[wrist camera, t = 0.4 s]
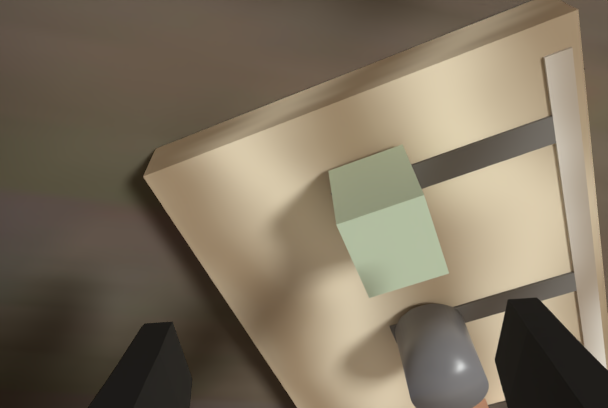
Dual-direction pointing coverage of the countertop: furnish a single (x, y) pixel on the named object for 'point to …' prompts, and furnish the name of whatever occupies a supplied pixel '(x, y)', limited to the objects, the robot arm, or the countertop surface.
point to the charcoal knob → (440, 358)
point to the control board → (436, 188)
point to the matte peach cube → (482, 404)
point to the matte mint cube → (386, 222)
